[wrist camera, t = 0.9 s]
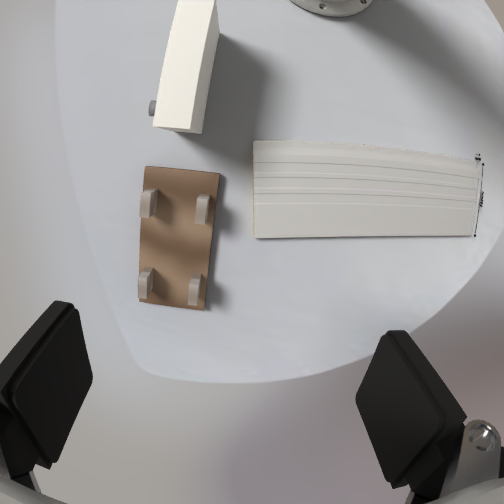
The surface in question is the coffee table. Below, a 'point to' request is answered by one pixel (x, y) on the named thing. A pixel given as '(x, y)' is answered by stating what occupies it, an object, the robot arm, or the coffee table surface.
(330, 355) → the coffee table surface
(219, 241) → the coffee table surface
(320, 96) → the coffee table surface
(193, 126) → the cabinet door
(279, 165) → the baseboard molding
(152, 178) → the hinge mount
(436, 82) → the coffee table surface
